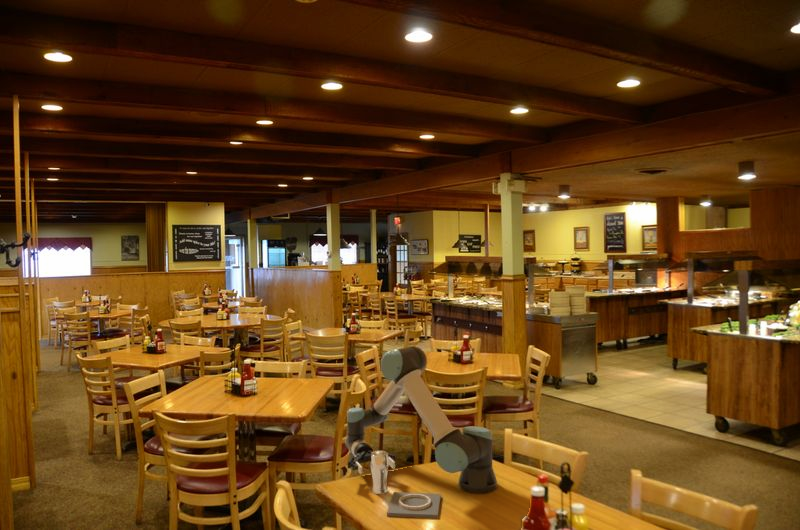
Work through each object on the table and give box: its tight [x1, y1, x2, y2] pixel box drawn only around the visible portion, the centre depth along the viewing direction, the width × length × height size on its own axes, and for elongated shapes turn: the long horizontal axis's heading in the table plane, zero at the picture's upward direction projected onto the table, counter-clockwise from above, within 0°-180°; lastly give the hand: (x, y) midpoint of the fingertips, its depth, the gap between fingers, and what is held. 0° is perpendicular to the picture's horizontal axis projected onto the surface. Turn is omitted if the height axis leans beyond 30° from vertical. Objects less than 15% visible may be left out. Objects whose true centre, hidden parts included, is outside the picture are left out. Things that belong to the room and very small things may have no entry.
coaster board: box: [386, 491, 442, 519], centre depth 215 cm, size 18×18×2 cm
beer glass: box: [370, 450, 389, 495], centre depth 229 cm, size 7×7×15 cm
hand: (377, 468), depth 230 cm, fingers open, 13 cm apart
